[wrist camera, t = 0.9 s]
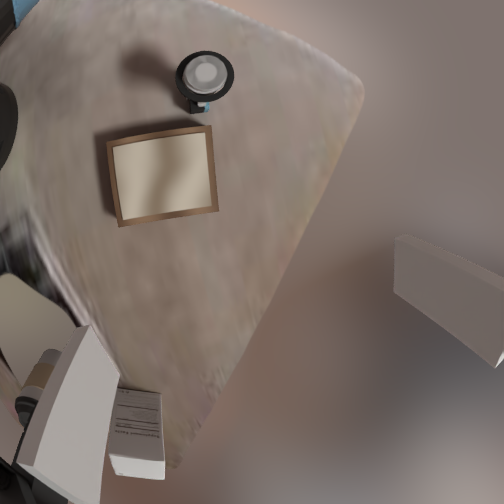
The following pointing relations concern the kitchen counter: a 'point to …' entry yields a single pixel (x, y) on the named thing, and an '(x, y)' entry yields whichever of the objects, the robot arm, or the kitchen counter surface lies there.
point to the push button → (204, 79)
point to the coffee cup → (36, 384)
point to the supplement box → (137, 435)
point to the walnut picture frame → (163, 175)
